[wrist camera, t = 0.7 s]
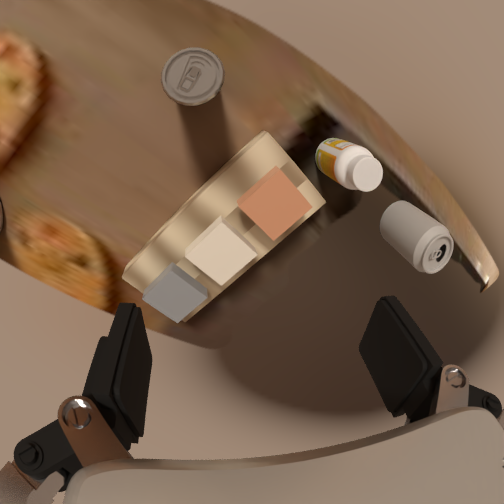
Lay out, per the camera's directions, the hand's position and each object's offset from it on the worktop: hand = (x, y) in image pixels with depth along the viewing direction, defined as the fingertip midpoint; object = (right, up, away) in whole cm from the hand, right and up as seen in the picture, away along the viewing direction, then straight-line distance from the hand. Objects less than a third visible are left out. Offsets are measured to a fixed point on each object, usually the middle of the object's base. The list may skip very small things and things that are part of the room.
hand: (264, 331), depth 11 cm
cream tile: (-5, +4, +26) cm, 27 cm away
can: (+23, +8, +33) cm, 41 cm away
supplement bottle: (+10, +16, +26) cm, 33 cm away
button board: (-5, +6, +29) cm, 30 cm away
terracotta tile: (+2, +10, +24) cm, 26 cm away
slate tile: (-11, -1, +28) cm, 30 cm away
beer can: (-7, +23, +19) cm, 31 cm away
